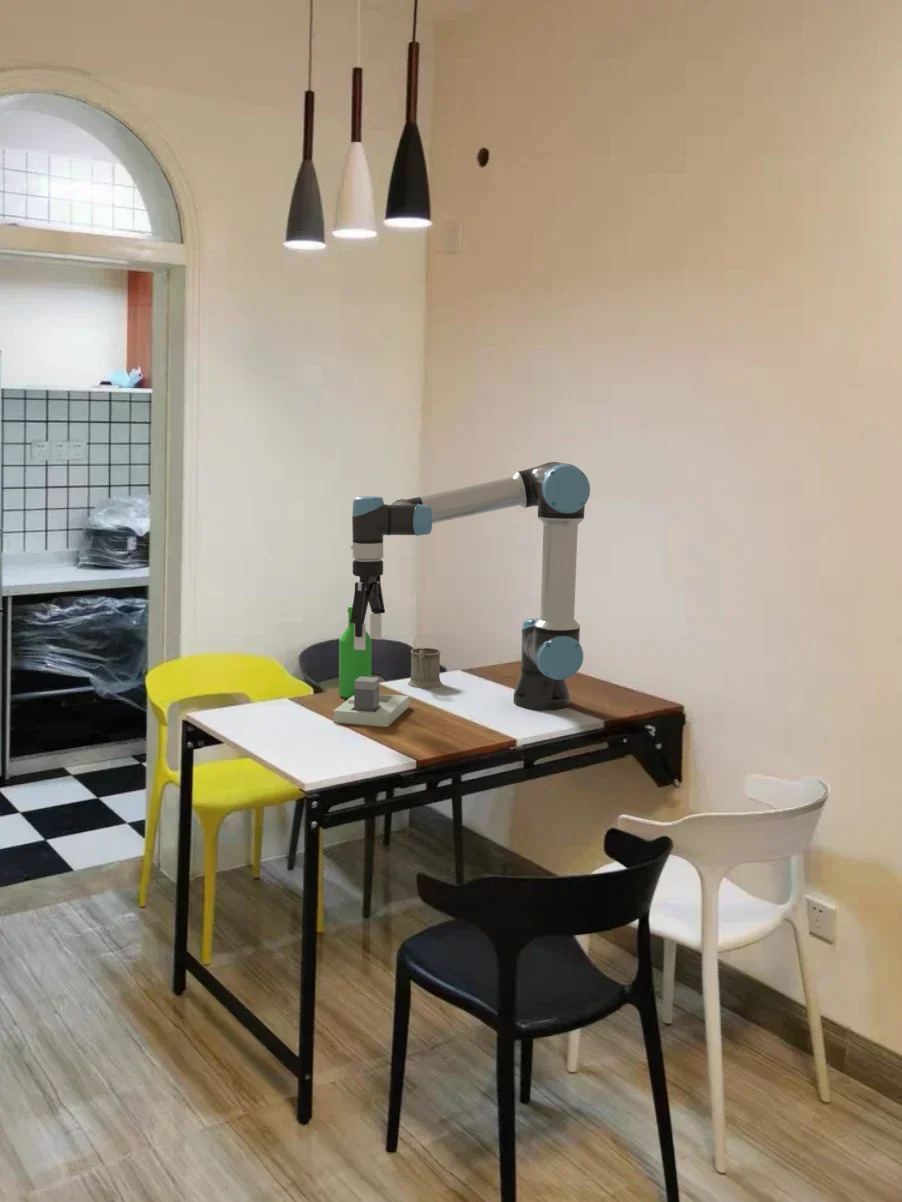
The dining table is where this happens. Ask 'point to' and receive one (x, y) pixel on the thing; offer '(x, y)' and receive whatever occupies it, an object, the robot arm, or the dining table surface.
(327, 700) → the dining table surface
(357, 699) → the plug
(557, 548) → the robot arm
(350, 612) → the bottle
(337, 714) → the socket plate
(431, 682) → the mug
